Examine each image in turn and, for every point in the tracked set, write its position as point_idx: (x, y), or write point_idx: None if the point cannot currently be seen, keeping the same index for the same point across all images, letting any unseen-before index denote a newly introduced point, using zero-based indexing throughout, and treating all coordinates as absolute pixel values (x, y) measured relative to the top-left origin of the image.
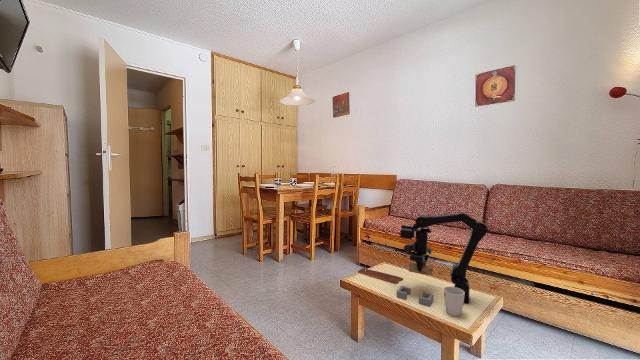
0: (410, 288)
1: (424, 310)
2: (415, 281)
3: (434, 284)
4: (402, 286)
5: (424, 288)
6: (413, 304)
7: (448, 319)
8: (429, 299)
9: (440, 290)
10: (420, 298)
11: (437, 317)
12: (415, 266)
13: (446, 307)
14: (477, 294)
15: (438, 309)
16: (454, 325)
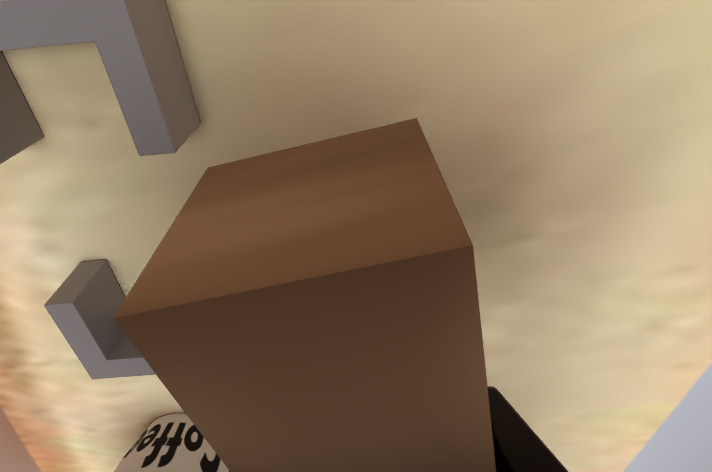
0: (160, 152)
1: (24, 325)
2: (664, 7)
3: (650, 231)
4: (107, 18)
5: (474, 187)
6: (14, 232)
7: (81, 436)
8: (106, 374)
9: (514, 307)
10: (56, 310)
11: (33, 399)
12: (240, 460)
13: (124, 457)
14: (578, 463)
15: (145, 378)
16: (52, 463)
